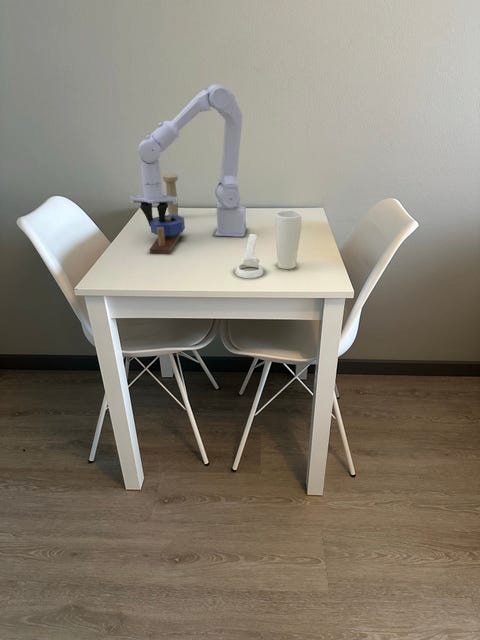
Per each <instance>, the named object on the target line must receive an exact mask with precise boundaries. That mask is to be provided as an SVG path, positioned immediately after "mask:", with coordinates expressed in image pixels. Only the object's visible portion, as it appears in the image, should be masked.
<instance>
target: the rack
mask: <svg viewBox="0 0 480 640" xmlns="http://www.w3.org/2000/svg"><path fill="white" fill-rule="evenodd" d="M169 222H171V218H170V217H167V218H165V223H169ZM157 234H158V235H157V238H156V240H155V241H154V242H153V243H152V245H151V246H150V248H149V254H160V255H170V254H171V253H172V251H173V250H174V248H175V246H176V245H177V243H178V242H179V240H180V238H181V237H182V233H179V234H175V235H172V236H164V228H163V227H157Z"/></svg>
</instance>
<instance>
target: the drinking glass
mask: <svg viewBox="0 0 480 640" xmlns="http://www.w3.org/2000/svg"><path fill="white" fill-rule="evenodd" d="M301 230H302V213H301V212H300V211H297V210H293V209H292V210H291V209H285V210H284V209H283V210H279V211H277V212H276V213H275V240H276V241H275V243H276V265H277V267H278V268H280V269H282V270H293V269H295V268H296V266H297V262H298V261H297V260H298V259H297V258H298V251H299V245H300V238H301Z"/></svg>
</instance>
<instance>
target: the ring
mask: <svg viewBox="0 0 480 640" xmlns="http://www.w3.org/2000/svg"><path fill="white" fill-rule="evenodd" d="M167 217H170V218H171V222H169V223H165V218H167ZM165 218H164V223H161V222H159V216H156V217H153V219H152V220H151V221H150V226H151V227H150V226H149V227H150V232H151V233H152V234H154V235H156V236H158V234H157V227H163V228H164V236H172V235H175V234H179V233H181V234H182V233H183V232H184V231H185V229H186V225H185V217H182V216H180V215H178V216H177V215H169V214H165Z"/></svg>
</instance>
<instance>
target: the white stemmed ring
mask: <svg viewBox="0 0 480 640" xmlns="http://www.w3.org/2000/svg"><path fill="white" fill-rule="evenodd" d="M258 237H259V236H258V235H257V234H256V233H255V234H254V233H250V234H249V235H248V238H247V244H246V248H245V253H244V257H243V260H242V261H243V262H242V263H239V264H238V265H237V266H236V268H235V271H234V272H235V275H236V276H237V277H240V278H244V279H256V278H259V277H262V275H264V269H263V267H262V266H261V265H260V259H259V257H258V256H255V251H256V247H257V242H258ZM244 268H254V269H256V270H243V269H244Z"/></svg>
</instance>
